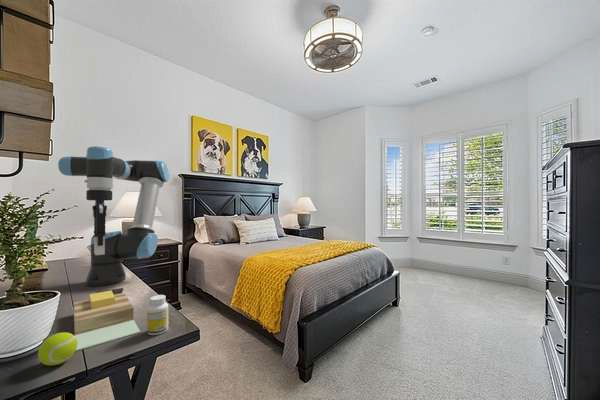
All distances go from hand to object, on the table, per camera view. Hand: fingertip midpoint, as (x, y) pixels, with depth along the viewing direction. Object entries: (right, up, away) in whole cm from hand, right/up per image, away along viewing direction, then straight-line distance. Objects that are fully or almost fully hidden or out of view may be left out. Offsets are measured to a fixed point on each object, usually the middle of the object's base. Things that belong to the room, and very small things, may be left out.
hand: (99, 253), depth 94 cm
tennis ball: (+17, -18, -34) cm, 43 cm away
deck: (+9, -18, -11) cm, 23 cm away
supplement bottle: (+32, -19, -20) cm, 42 cm away
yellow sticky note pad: (+7, -15, -8) cm, 18 cm away
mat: (+19, -18, -21) cm, 34 cm away
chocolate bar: (-2, -19, +7) cm, 21 cm away
